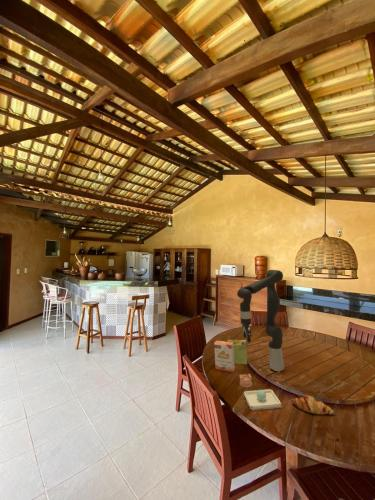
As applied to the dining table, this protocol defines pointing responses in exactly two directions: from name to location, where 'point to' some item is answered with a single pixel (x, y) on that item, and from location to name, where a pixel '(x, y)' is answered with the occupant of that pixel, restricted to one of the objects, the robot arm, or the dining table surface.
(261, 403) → the tray
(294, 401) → the croissant
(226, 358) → the cracker box
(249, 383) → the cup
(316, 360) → the dining table surface
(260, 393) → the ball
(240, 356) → the protein box
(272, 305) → the robot arm
